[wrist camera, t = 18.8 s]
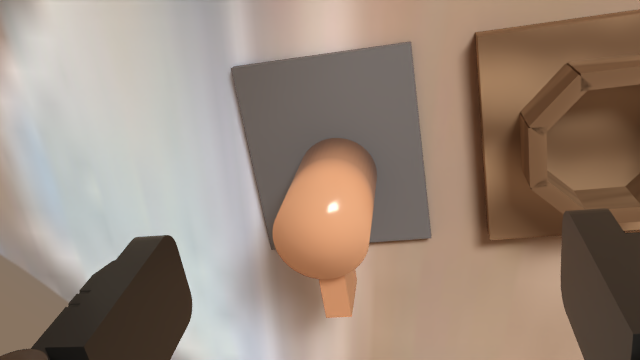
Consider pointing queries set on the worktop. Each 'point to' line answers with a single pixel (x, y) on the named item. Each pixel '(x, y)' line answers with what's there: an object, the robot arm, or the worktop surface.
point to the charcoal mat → (339, 128)
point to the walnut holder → (560, 122)
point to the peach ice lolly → (329, 219)
